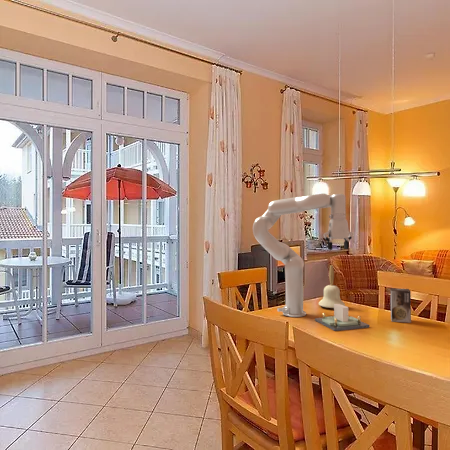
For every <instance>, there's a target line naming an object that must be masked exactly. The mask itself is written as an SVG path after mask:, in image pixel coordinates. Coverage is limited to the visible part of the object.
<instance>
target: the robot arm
mask: <svg viewBox="0 0 450 450" xmlns="http://www.w3.org/2000/svg"><path fill="white" fill-rule="evenodd" d="M326 208H330V214H329V215H328V218H329V219H330V220H329V223H328V230H327V231H326V232H324V233H323V234H322V235H323V238H324V240H325V241H326V242H327V250H329V251H333V240H338V239H343V249H344V250H349V246H350V242H351V239H352V238H353V235H354V233H353V232H351V231H350V230H349V223H348V219H347V218H346V211H347V210H346V195H345V194H343V193H335V194H334V193H333V194H327V193H317V194H310V195H304V196H296V197H295V196H294V197H289V198H283V199H277V200H276V199H275V200H272V201H270V202H269V203H268V206H267V210H266V211H265V212H264V213H263V214H262V215H261V216H258V217H257V218H256V219H255V220H254V222H253V224H252V235H253V237H254V238H255V240H256V241H257V242H258V243H259V245H261V247H262V248H263V249H265V251H266V252H267V253H269V254H270V256H272V258H273V259H275V260H276V261H280V262H281V263H282V264H283V265H284V278H285V279H284V280H285V283H284V284H285V305H284V306H283V307H277V309H276V310H277V312H278V313H279V312H280V313H282V314H283V316H286V317H291V318H301V317H305V316H306V315H307V312H306V311H305V310H304V272H303V271H304V266H305V262H304V260H303V259H304V258H302V257H301V256H300V255H299V254H298V253H297V252H296V251H294V250H293V248H291V247H290V246H289V245H288V244H286V243H284V242H280V241H279V239H277V238H276V237H275V236H274V235H273V234H271V232H270V231H269V230H270V229H271V228H273V226H274V225H275V224H276V223H277V221H278V220H279V219H280V218H281V217H282V216H283V215H290V214H296V213H302V212H305V211H310V210H311V211H312V210H316V209H326Z"/></svg>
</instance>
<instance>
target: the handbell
mask: <svg viewBox="0 0 450 450" xmlns="http://www.w3.org/2000/svg"><path fill="white" fill-rule="evenodd" d="M334 272H335V271H334V266H333V264H332V265H329V274H328V275H329V283H330V284H328V285H326V286H324V287H323V298H322V299H321V300H320V301H318V305H319V306H320V307H323V308H330V309H334V304H341V305H344V306H346V304H345V302H344V301H343V300H342V299H341V297H340V294H341V293H340V291H341V290H340V288H339V287H338V286H337V285H334V278H335V277H334V276H335V273H334Z"/></svg>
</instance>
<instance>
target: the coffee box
mask: <svg viewBox="0 0 450 450" xmlns="http://www.w3.org/2000/svg"><path fill="white" fill-rule="evenodd" d="M411 299H412V298H411V289H410V288H393V287H392V288H390V320H391V322H392V323H393V322H394V323H396V322H397V323H410V324H411V323H412V315H411V314H412V304H411V303H412V301H411Z"/></svg>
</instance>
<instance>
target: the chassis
mask: <svg viewBox="0 0 450 450" xmlns="http://www.w3.org/2000/svg"><path fill="white" fill-rule="evenodd" d="M325 317H326V313H325V312H322V317H315V318H314V321H315V322H317V323H319V324H320V325H323V326H325V327H326V328H328V329H330V330H332V331H333V332H339V331H341V332H342V331H349V330H359V329H369V327H370V324H369V323H366V322H363V321H361V322H360V320H361V315H357V319H358V325H348V326H339V325H337V318H334V319H335V325H329V324H327V323H325V322H323V321H322V319H325ZM348 317H349V315H348Z"/></svg>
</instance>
